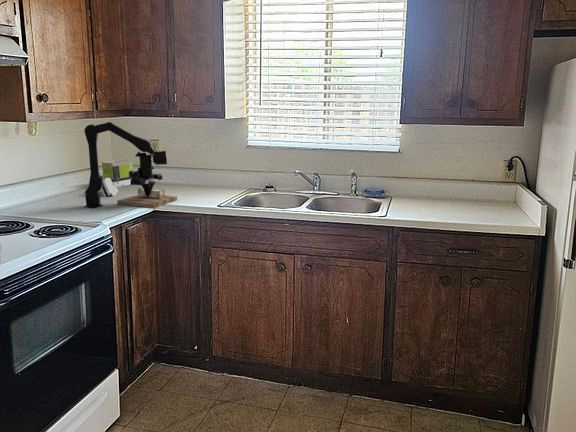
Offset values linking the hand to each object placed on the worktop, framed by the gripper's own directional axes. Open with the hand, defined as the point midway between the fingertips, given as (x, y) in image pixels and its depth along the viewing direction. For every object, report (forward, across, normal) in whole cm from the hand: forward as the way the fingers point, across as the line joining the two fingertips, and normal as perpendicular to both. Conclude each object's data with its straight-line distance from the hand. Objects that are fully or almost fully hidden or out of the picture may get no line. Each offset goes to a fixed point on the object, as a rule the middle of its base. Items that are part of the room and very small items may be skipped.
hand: (147, 196), depth 270 cm
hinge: (+4, -13, -36) cm, 39 cm away
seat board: (+4, -2, -2) cm, 5 cm away
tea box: (+4, -37, -48) cm, 61 cm away
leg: (+2, -6, -3) cm, 6 cm away
